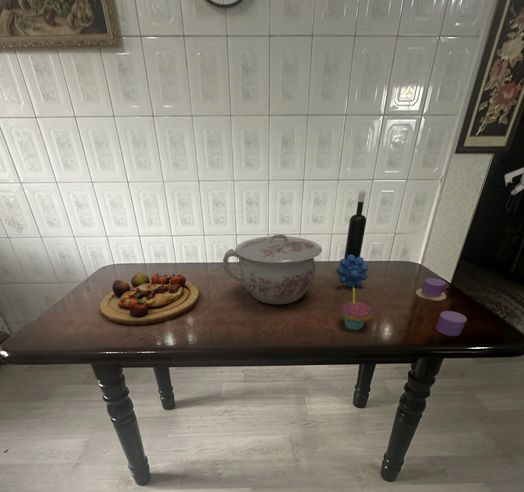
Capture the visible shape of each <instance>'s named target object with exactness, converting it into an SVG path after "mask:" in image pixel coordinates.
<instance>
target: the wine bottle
mask: <svg viewBox="0 0 524 492" xmlns="http://www.w3.org/2000/svg"><path fill="white" fill-rule="evenodd" d="M366 191H367V190H365V189H363V190H362V189H361V190H359V192H358V197H357V206H356V212H355V214H353V215H352V216H350V218H349V223H348V229H347V236H346V244H345V251H344V258H343V259H346V260H347V257H348V256H349V255H354V256H355V258H357V257H361V253H362V249H363V248H362V247H363V242H364V236H365V230H366V225H367V217H366V216H365V215H364V214H363V210H364V203H365V200H366V193H367V192H366Z"/></svg>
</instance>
